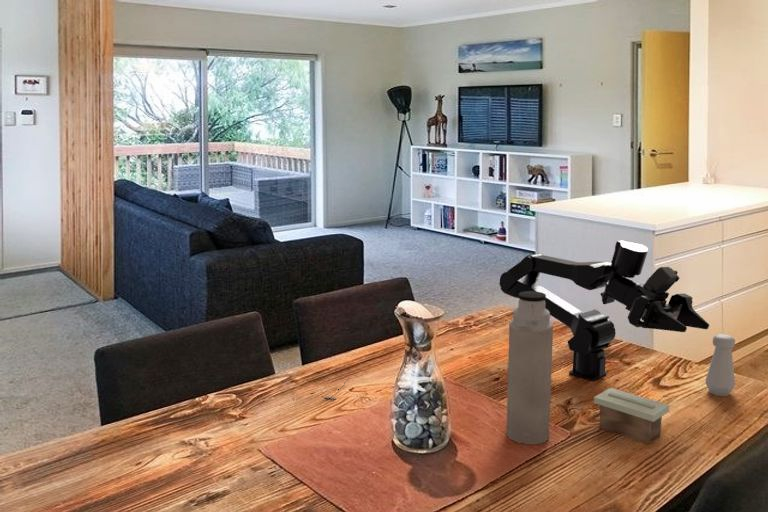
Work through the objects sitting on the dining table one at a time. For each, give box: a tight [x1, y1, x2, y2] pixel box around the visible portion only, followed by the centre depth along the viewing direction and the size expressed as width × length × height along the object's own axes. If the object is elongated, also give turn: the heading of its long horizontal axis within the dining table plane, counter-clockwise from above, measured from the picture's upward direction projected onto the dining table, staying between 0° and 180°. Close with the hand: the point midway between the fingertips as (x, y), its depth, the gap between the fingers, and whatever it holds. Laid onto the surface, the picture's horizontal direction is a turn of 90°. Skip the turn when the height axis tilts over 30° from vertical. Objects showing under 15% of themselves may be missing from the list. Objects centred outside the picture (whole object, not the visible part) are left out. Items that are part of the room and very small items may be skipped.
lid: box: [593, 387, 670, 422], centre depth 132 cm, size 12×6×2 cm, turn 44°
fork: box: [321, 395, 336, 400], centre depth 155 cm, size 3×16×2 cm, turn 166°
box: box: [598, 405, 663, 445], centre depth 133 cm, size 10×5×5 cm, turn 44°
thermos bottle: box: [506, 291, 554, 445], centre depth 130 cm, size 8×8×28 cm
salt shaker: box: [705, 333, 736, 397], centre depth 150 cm, size 6×6×13 cm
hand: (697, 328), depth 139 cm, fingers open, 9 cm apart
